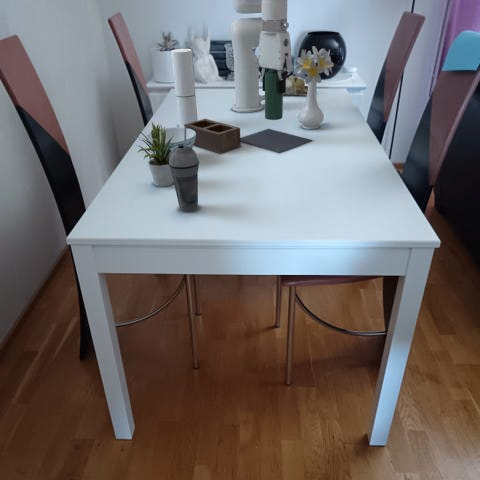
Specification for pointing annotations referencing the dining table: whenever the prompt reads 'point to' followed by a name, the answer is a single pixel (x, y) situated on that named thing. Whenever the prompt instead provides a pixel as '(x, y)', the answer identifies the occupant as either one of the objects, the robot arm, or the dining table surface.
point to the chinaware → (176, 138)
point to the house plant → (159, 156)
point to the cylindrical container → (184, 86)
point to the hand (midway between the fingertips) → (273, 91)
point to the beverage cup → (185, 176)
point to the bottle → (272, 96)
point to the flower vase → (313, 84)
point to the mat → (274, 140)
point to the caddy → (215, 135)
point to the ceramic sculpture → (295, 86)
